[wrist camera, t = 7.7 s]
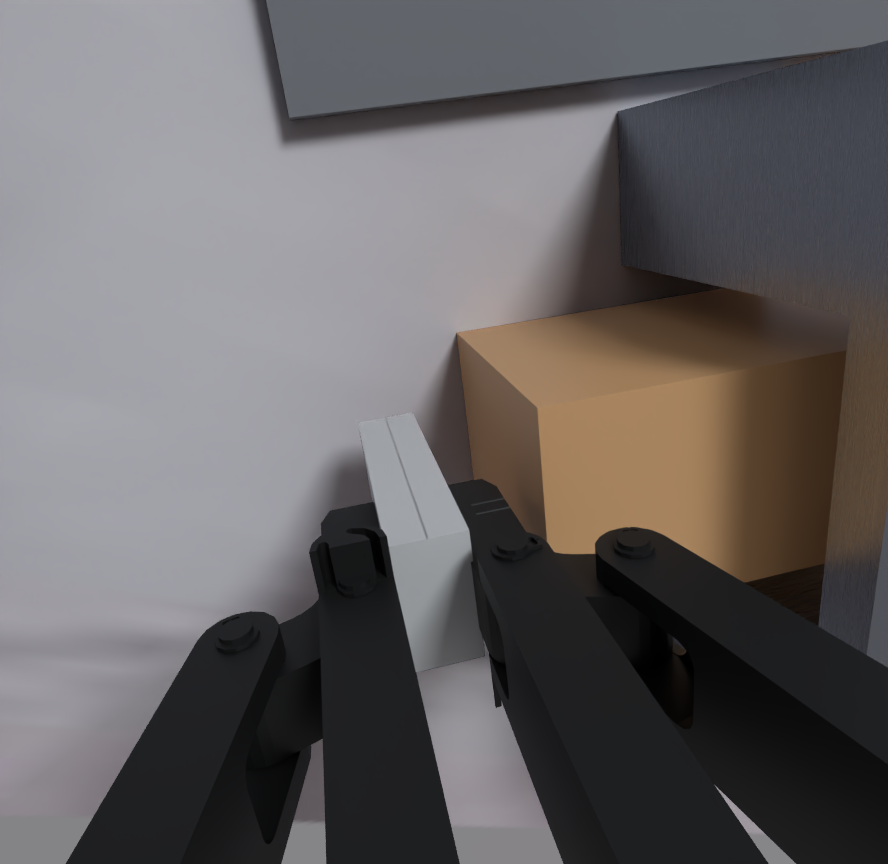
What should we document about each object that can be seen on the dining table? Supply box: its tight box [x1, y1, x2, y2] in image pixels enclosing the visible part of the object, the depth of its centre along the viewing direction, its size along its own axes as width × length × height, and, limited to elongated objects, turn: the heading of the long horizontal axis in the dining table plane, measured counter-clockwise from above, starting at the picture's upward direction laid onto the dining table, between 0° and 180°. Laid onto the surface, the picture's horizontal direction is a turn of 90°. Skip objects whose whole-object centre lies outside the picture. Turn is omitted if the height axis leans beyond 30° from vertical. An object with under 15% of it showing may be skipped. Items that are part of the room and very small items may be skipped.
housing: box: [618, 40, 888, 667], centre depth 16 cm, size 5×16×10 cm, turn 7°
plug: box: [457, 288, 850, 583], centre depth 18 cm, size 21×5×7 cm, turn 97°
